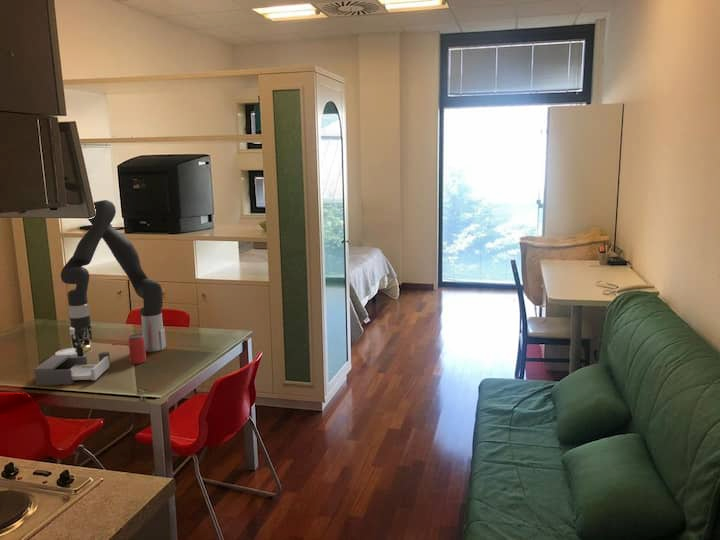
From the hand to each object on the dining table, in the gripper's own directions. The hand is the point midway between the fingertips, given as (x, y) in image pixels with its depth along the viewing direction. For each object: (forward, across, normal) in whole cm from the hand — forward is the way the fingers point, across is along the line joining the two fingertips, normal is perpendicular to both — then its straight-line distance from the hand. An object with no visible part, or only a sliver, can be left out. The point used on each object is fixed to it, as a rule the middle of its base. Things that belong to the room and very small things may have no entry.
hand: (83, 353), depth 245 cm
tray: (+9, 0, 0) cm, 9 cm away
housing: (+10, 0, +10) cm, 14 cm away
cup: (+10, +33, +16) cm, 38 cm away
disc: (-1, 0, 0) cm, 1 cm away
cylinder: (+10, +14, -2) cm, 17 cm away
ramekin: (+10, +18, +15) cm, 25 cm away
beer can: (+10, +16, -16) cm, 25 cm away
